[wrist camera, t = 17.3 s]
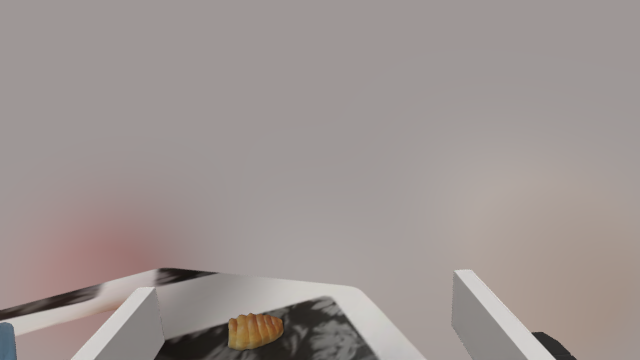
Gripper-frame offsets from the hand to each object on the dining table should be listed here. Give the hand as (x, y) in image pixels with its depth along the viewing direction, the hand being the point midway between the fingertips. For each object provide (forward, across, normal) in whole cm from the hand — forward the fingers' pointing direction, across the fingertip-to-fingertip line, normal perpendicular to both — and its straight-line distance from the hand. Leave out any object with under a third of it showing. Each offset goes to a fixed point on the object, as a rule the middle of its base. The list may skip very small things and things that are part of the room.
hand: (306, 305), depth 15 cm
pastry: (+38, -12, -30) cm, 50 cm away
